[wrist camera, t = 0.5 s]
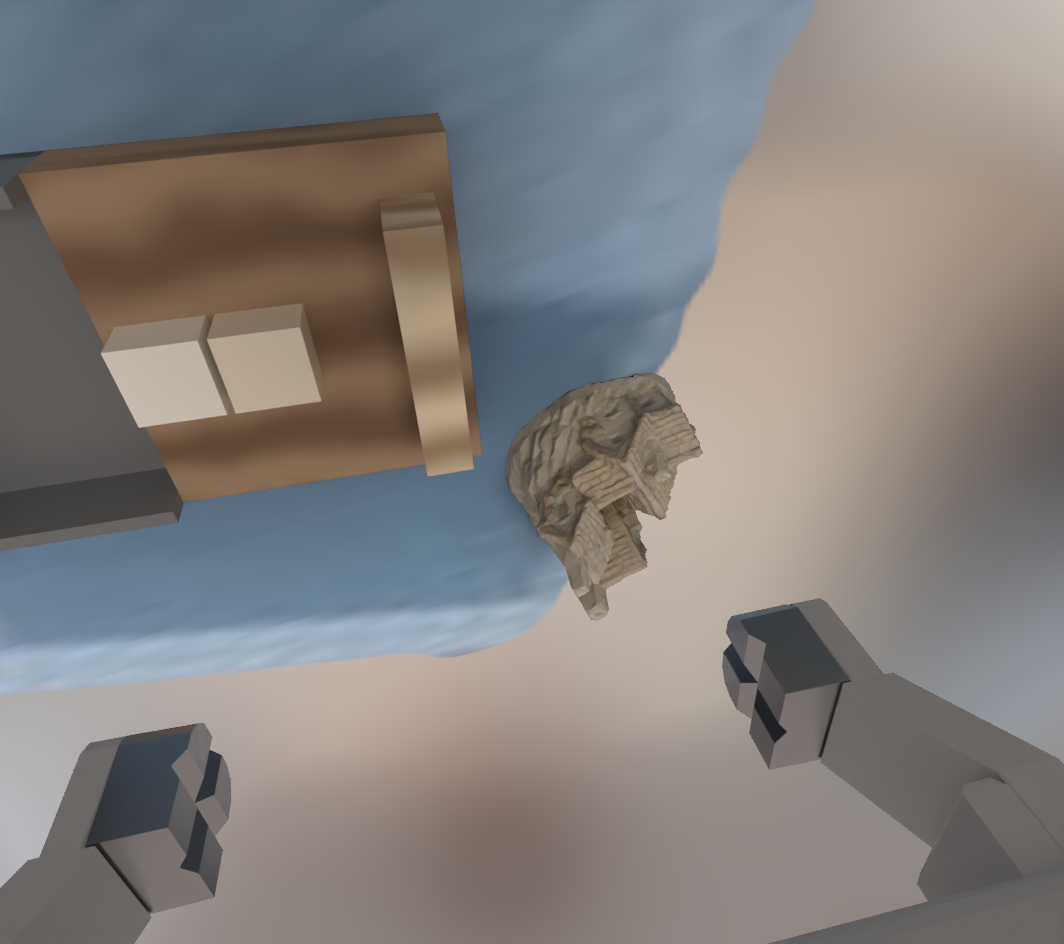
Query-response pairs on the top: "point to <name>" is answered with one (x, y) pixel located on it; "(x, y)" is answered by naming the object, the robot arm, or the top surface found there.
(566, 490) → the ceramic cottage
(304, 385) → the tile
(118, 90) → the top surface
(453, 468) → the bar
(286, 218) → the plate
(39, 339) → the box
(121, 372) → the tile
